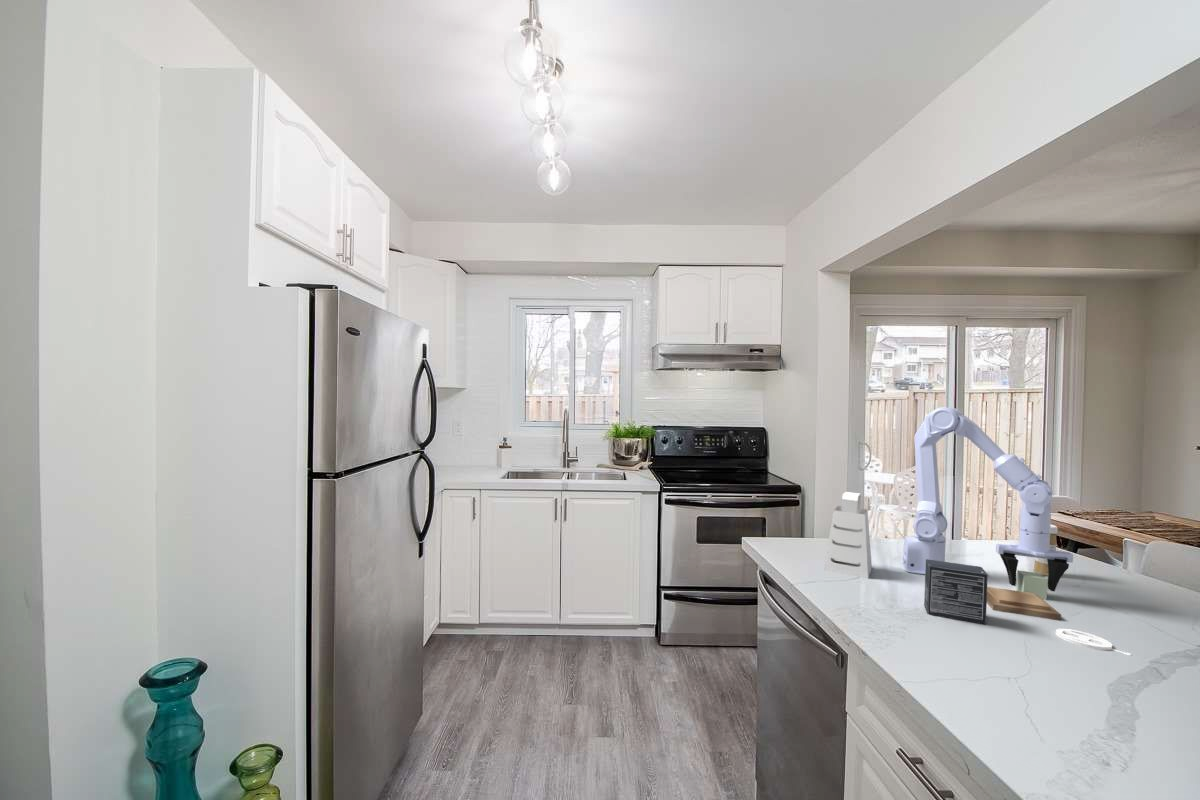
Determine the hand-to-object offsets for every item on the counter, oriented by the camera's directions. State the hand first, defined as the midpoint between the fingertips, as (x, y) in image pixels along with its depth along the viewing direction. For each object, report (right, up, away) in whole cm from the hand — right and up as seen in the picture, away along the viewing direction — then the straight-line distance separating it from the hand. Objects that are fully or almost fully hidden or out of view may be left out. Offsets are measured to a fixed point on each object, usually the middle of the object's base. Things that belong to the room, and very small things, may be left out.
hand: (1031, 587), depth 129 cm
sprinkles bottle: (+17, -3, +17) cm, 24 cm away
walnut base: (-9, -2, -7) cm, 12 cm away
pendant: (-9, -2, -26) cm, 27 cm away
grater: (-37, 0, +14) cm, 40 cm away
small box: (-28, -1, -14) cm, 31 cm away
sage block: (0, -2, 0) cm, 2 cm away
